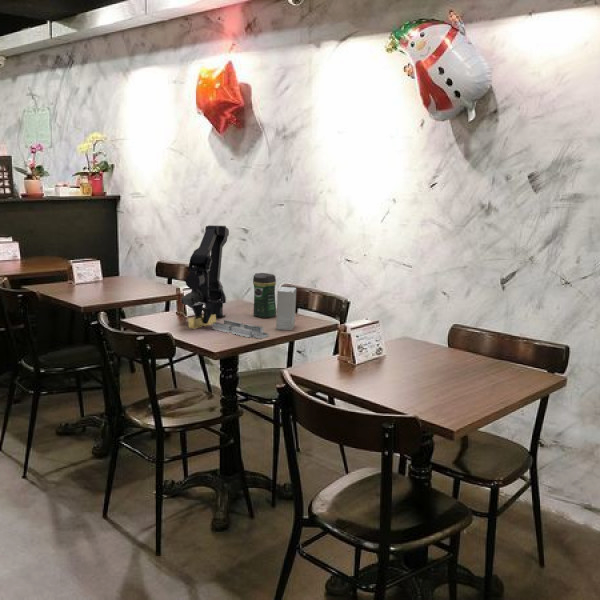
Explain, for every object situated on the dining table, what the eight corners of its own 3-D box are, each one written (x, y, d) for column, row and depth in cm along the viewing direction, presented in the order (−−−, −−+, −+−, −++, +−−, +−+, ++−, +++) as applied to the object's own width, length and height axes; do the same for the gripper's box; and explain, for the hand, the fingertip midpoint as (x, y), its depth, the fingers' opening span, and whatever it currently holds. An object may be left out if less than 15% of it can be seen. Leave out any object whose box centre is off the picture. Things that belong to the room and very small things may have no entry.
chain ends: (227, 325, 262) (227, 319, 262) (271, 335, 247) (271, 328, 247) (212, 329, 256) (212, 322, 256) (256, 339, 241) (256, 332, 241)
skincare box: (279, 325, 264) (279, 286, 261) (296, 325, 263) (297, 286, 260) (275, 329, 256) (275, 290, 253) (293, 330, 255) (293, 290, 252)
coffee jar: (279, 316, 280) (279, 273, 276) (265, 319, 274) (265, 275, 271) (264, 313, 286) (263, 270, 283) (250, 315, 281) (249, 272, 277)
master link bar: (188, 328, 259) (188, 318, 259) (210, 322, 269) (210, 313, 268) (193, 329, 258) (193, 319, 257) (216, 324, 267) (215, 314, 266)
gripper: (170, 284, 260) (171, 322, 263) (201, 290, 248) (202, 330, 251) (191, 281, 268) (192, 318, 271) (223, 286, 256) (224, 325, 259)
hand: (202, 322), depth 263 cm, fingers open, 4 cm apart
